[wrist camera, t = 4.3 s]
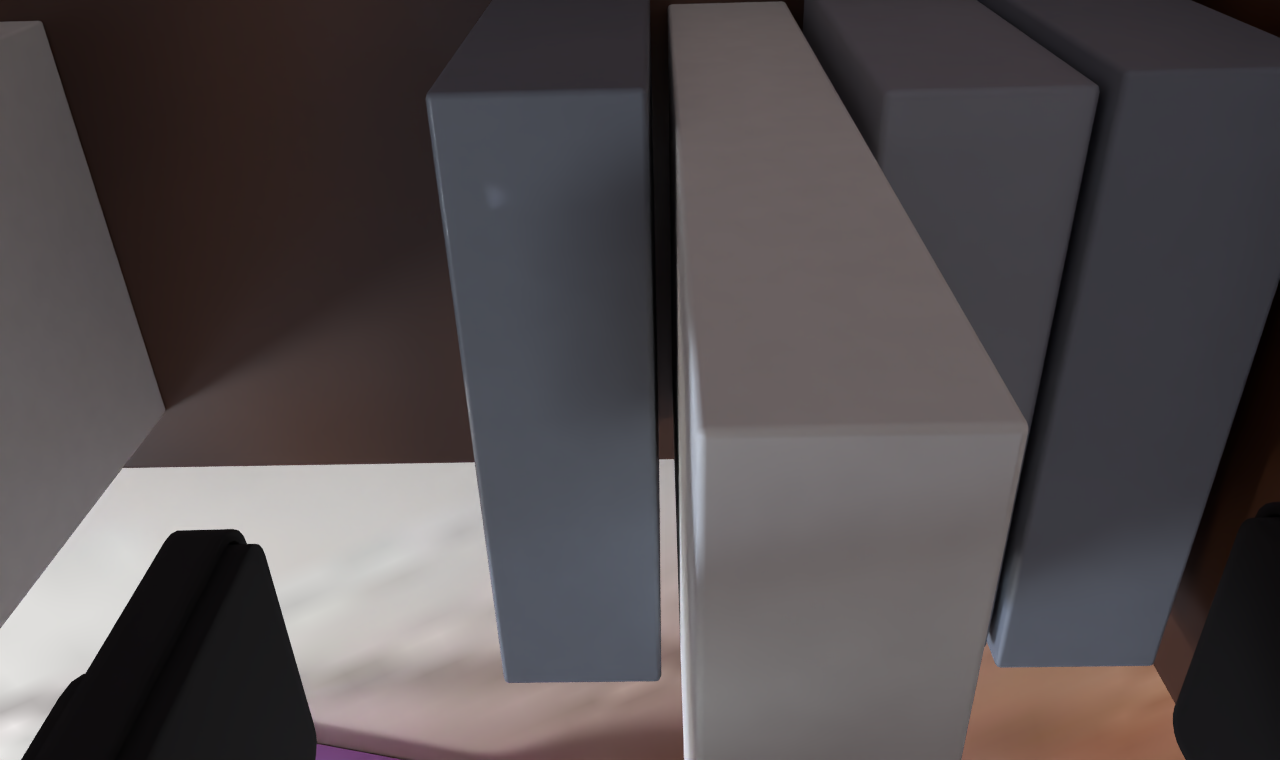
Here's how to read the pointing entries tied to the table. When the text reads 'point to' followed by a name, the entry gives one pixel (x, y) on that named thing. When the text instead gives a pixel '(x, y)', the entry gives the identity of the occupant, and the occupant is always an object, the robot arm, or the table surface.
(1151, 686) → the table surface
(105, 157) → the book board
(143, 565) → the table surface
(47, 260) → the white books
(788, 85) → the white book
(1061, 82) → the grey books
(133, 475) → the table surface
